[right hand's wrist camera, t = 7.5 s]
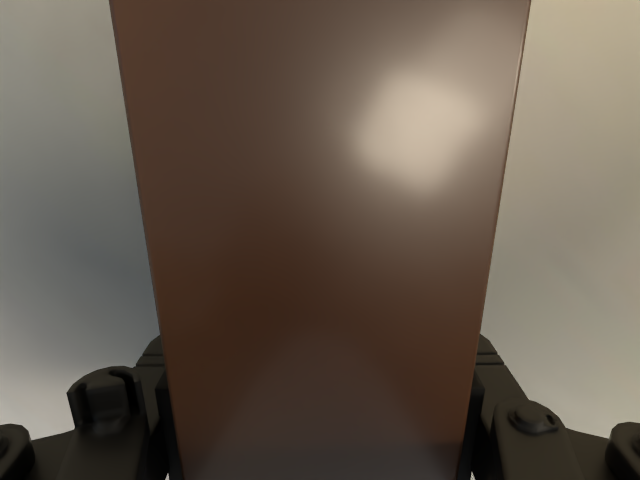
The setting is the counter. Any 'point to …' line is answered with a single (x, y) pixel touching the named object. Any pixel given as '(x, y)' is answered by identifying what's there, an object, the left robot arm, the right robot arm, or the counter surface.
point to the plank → (320, 223)
